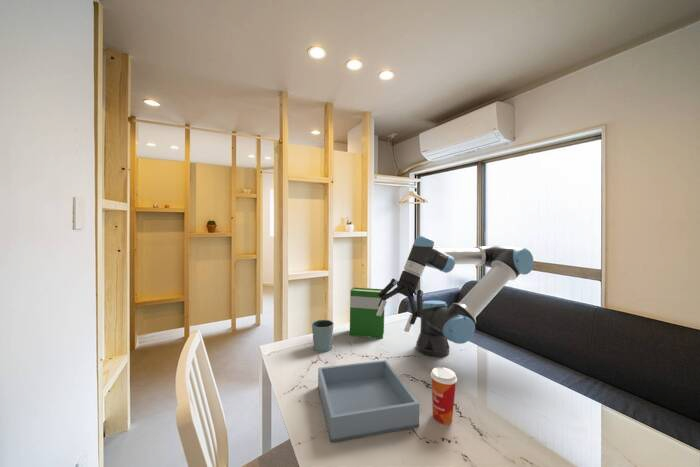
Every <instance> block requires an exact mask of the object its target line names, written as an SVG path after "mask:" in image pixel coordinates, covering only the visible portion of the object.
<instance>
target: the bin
mask: <svg viewBox="0 0 700 467" xmlns="http://www.w3.org/2000/svg"><path fill="white" fill-rule="evenodd" d="M317 373H318V374H317V388H318V392H319V396H320V401H321V405H322V410H323V414H324V417H325V423H326V427H327V432H328V437H329V441H330V444H334V443H335V444H336V443H341V442H345V441H350V440H356V439H357V440H358V439H363V438H367V437H373V436H378V435H384V434H389V433H395V432H401V431H406V430H412V429H417V428H420V412H421V411H420V410H421V407H420V406H421V404H420V402H419V401H418V399H417V398H416V397H415V396H414V395H413V393H412V392H411V391H410V389H409V388H408V387H407V385H406V384H405V382H403V380H402V378H401V377H400V376H399V375H398V373H397V372H396V371H395V369H393V367H392V366H391V365H390V363H389V362H388V360H387V359H384V360H377V361H366V362H365V361H364V362H359V363H358V362H357V363H350V364H349V363H348V364H339V365H331V366H329V365H328V366H321V367H320V366H319V367H318V369H317Z"/></svg>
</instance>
